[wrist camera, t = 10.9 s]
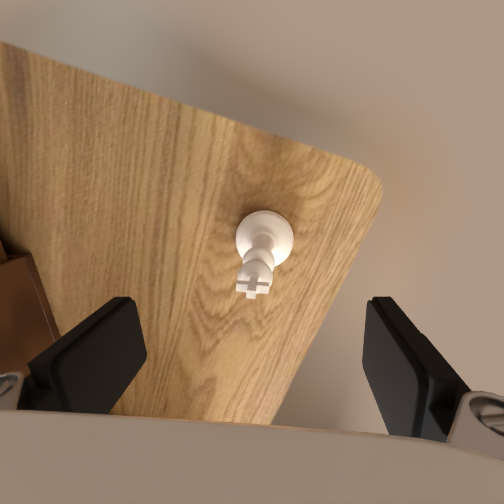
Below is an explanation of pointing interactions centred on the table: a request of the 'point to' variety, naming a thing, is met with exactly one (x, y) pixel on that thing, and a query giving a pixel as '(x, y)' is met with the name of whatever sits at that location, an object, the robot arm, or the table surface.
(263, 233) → the chess piece
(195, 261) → the table surface
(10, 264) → the cabinet
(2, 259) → the drawer
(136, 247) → the table surface
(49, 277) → the table surface
